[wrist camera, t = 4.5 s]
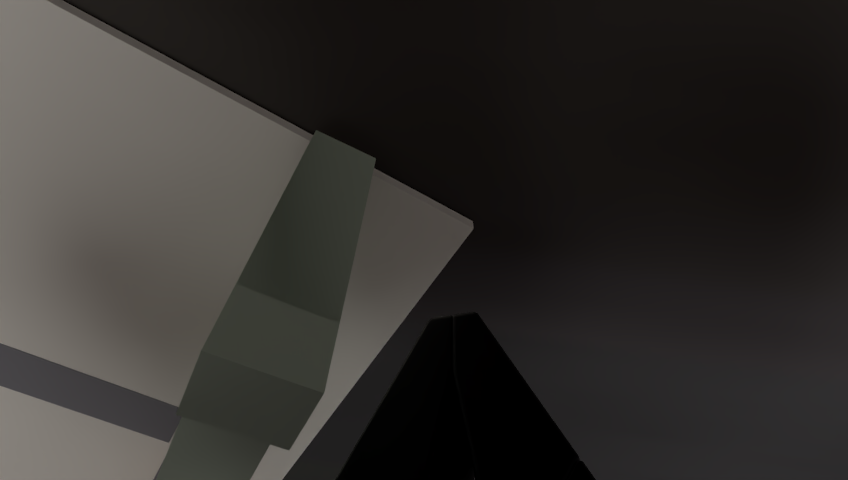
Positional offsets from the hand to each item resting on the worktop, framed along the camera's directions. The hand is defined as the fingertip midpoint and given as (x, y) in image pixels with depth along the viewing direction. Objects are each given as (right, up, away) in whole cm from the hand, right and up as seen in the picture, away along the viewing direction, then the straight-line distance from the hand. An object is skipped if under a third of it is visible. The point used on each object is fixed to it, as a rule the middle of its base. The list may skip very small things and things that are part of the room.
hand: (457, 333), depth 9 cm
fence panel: (-4, 0, +3) cm, 5 cm away
